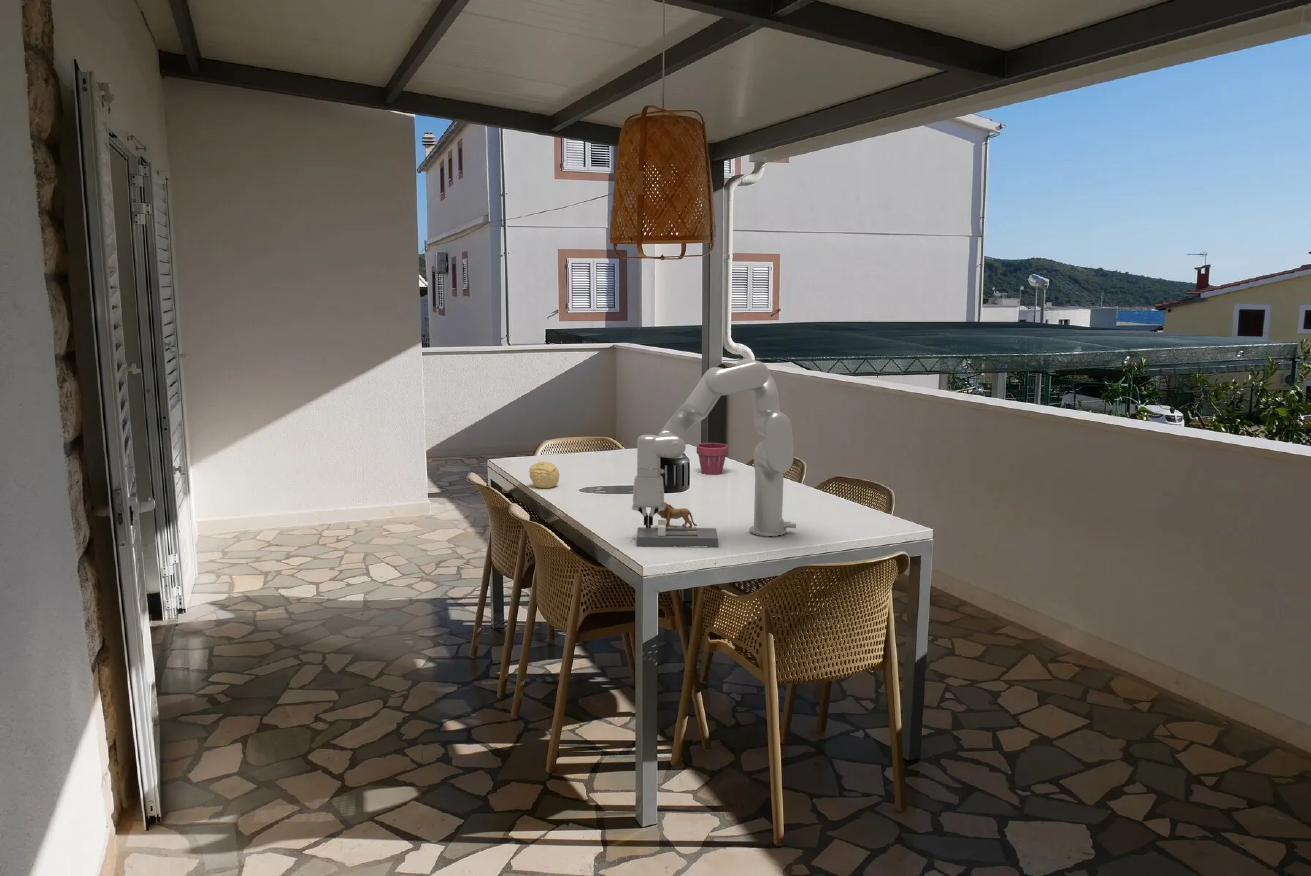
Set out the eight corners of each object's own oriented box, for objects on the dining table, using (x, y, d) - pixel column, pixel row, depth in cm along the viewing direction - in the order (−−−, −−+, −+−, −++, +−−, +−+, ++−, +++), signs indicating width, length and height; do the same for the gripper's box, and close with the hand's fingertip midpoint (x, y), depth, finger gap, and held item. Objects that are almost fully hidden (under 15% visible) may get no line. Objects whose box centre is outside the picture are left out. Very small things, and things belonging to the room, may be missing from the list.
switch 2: (665, 536, 307) (665, 525, 307) (665, 538, 304) (665, 527, 304) (657, 536, 307) (657, 524, 307) (657, 538, 304) (657, 527, 304)
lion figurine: (654, 528, 327) (654, 502, 326) (655, 524, 332) (655, 499, 331) (697, 529, 327) (697, 503, 325) (697, 525, 332) (697, 500, 331)
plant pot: (720, 477, 419) (720, 448, 417) (691, 474, 425) (691, 446, 423) (732, 471, 432) (732, 444, 430) (703, 469, 438) (704, 441, 436)
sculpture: (525, 488, 391) (525, 462, 389) (539, 483, 402) (539, 458, 400) (550, 490, 387) (550, 464, 385) (563, 485, 398) (563, 460, 397)
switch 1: (665, 530, 314) (665, 519, 314) (665, 533, 311) (665, 522, 311) (658, 530, 314) (658, 519, 314) (657, 533, 311) (658, 522, 311)
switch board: (715, 537, 316) (715, 527, 315) (717, 547, 303) (718, 537, 303) (637, 536, 316) (637, 527, 316) (636, 546, 303) (636, 536, 303)
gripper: (671, 470, 314) (670, 525, 316) (626, 470, 314) (626, 524, 316) (671, 475, 306) (670, 530, 309) (625, 474, 306) (625, 530, 309)
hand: (648, 527), depth 313 cm, fingers closed
